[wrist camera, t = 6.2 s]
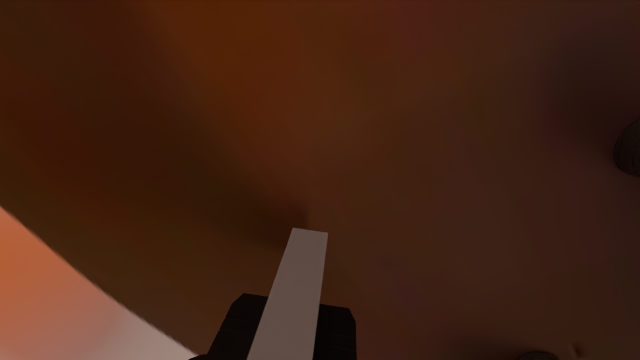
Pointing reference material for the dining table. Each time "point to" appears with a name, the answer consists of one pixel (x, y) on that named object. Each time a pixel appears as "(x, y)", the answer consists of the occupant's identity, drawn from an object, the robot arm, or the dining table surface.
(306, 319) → the robot arm
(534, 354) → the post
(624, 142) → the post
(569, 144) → the dining table surface
